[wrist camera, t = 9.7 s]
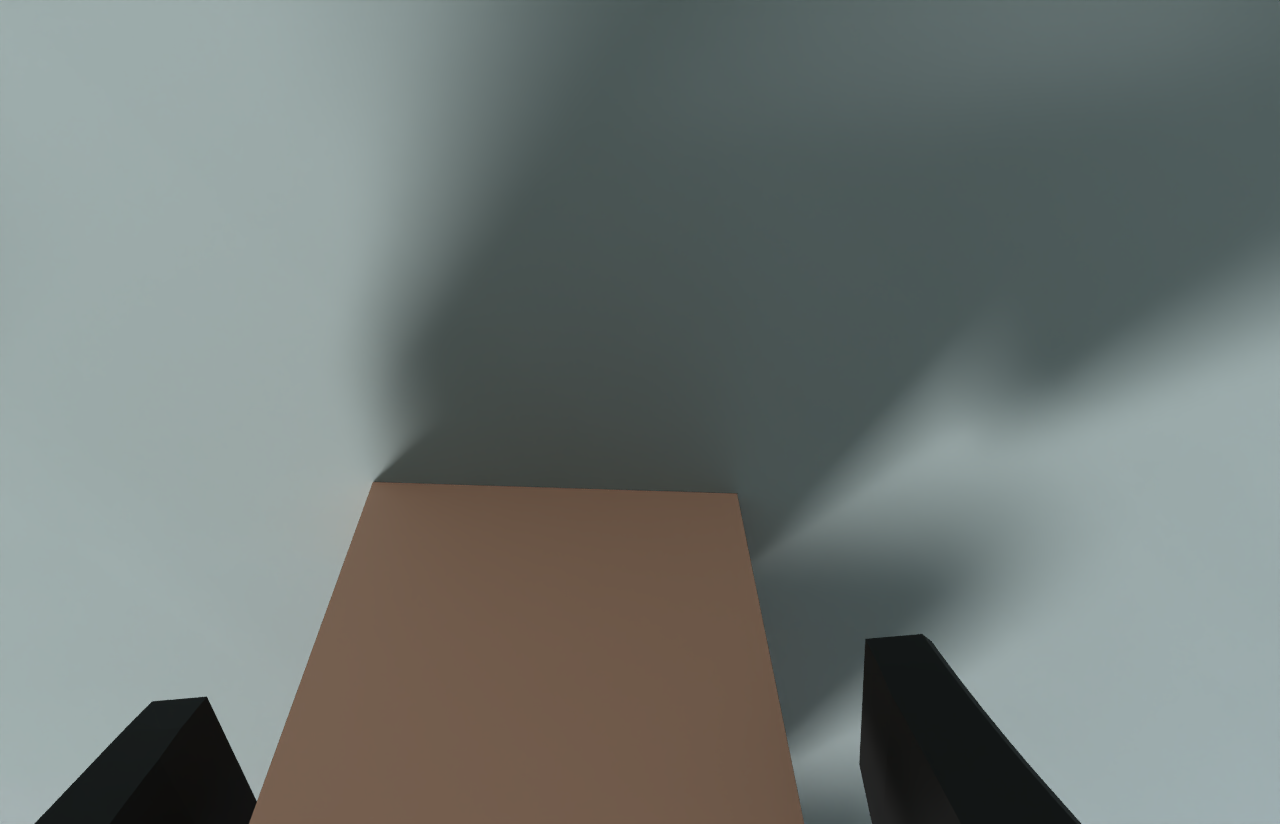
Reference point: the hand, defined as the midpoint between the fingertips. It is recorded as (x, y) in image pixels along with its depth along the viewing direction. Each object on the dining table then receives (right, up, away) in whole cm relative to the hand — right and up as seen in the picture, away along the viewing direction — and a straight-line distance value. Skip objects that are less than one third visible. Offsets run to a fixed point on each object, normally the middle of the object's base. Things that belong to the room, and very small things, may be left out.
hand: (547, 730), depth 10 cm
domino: (0, +2, +3) cm, 3 cm away
